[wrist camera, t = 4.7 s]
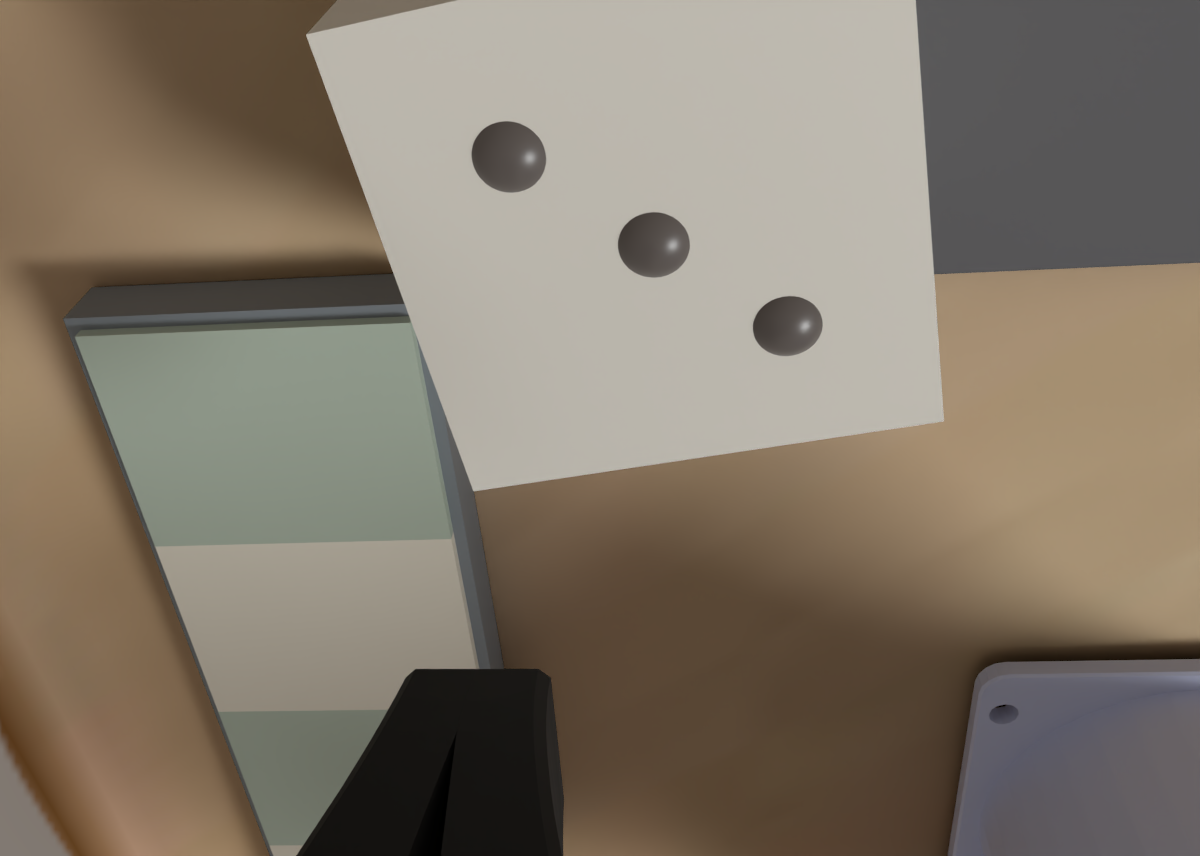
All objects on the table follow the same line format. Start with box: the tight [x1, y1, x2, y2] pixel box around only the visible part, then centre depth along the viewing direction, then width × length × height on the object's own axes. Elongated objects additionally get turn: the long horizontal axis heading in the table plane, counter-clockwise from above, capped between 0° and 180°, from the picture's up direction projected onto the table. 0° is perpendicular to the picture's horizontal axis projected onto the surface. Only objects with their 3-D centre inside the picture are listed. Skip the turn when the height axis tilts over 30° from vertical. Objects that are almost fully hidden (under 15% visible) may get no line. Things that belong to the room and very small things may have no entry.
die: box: [306, 0, 944, 491], centre depth 13 cm, size 5×5×5 cm
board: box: [63, 274, 504, 856], centre depth 24 cm, size 24×5×1 cm, turn 4°
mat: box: [916, 0, 1200, 274], centre depth 14 cm, size 7×13×1 cm, turn 94°
